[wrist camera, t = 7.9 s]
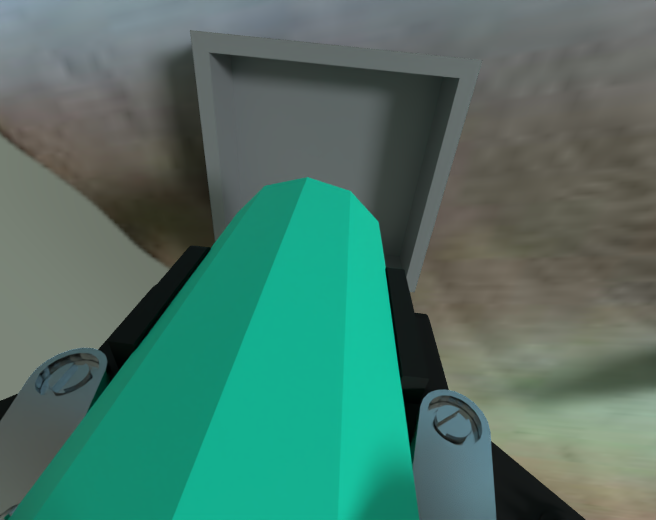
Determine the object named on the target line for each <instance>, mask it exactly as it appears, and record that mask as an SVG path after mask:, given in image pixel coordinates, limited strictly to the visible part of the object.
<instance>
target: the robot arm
mask: <svg viewBox="0 0 656 520" xmlns="http://www.w3.org/2000/svg"><path fill="white" fill-rule="evenodd" d="M210 249H211V248H210V247H201V246H190V247H189V248H188V249H187V250H186V251H185V252H184V254H183V255H182V256H181V257H180V258H179V259H178V261H177V262H176V263H175V264H174V265H173V266H172V267H171V269H170V270H169V271H168V272H167V273H166V275H165V276H164V277H163V278H162V279H161V280H160V281H159V283H158V284H157V285H155V286H154V287H153V288H152V289H151V290H150V291H149V292H148V293H147V294H146V296H145V297H144V298H143V299H142V300H141V301H140V302H139V303H138V305H137V306H136V307H135V308H134V309H133V310H132V312H131V313H130V314H129V315H128V316H127V317H126V318H125V320H124V321H123V322H122V323H121V324H120V325H119V327H118V328H117V329H116V330H115V331H114V332H113V333H112V334H111V336H110V337H109V338H108V339H107V340H106V341H105V343H104V344H103V345H102V346H101V347H100V348H99V349H98V350H97V349H94V348H79V349H73V350H69V351H67V352H64V353H61V354H58V355H56V356H54V357H53V358H51V359H49V360H47V361H46V362H44V363H43V364H42V365H40V366H39V367H38V368H37V369H36V370H35V371H34V372H33V373H32V375H31V376H30V377H29V378H28V380H27V381H26V383H25V384H24V386H23V387H22V389H21V390H20V392H19V393H18V394H16V395H13V396H11V397H9V398H6V399H4V400H1V401H0V520H8V518H9V517H10V516H12V514H13V513H14V511H15V510H16V508H17V507H18V505H19V504H20V502H21V501H22V500H23V498H24V497H25V496H26V494H27V493H28V492H29V490H30V489H31V488H32V486H33V485H34V484H35V482H36V481H37V480H38V478H39V477H40V476H41V474H42V473H43V472H44V470H45V469H46V468H47V466H48V465H49V464H50V462H51V461H52V460H53V458H54V457H55V456H56V454H57V453H58V452H59V450H60V449H61V448H62V446H63V445H64V444H65V442H66V441H67V440H68V438H69V437H70V436H71V434H72V433H73V432H74V430H75V429H76V428H77V426H78V425H79V424H80V422H81V421H82V420H83V418H84V417H85V416H86V414H87V413H88V412H89V410H90V409H91V407H92V406H93V405H94V403H95V402H96V401H97V399H98V398H99V397H100V395H101V394H102V393H103V391H104V390H105V389H106V387H107V386H108V385H109V383H110V382H111V381H112V379H113V378H114V377H115V375H116V374H117V373H118V371H119V370H120V369H121V367H122V366H123V365H124V363H125V362H126V361H127V359H128V358H129V357H130V355H131V354H132V353H133V352H134V351H135V350H136V349H137V347H138V346H139V345H140V343H141V342H142V340H143V339H144V338H145V337H146V336H147V334H148V333H149V332H150V330H151V329H152V328H153V326H154V325H155V324H156V322H157V321H158V320H159V318H160V317H161V316H162V314H163V313H164V312H165V310H166V309H167V308H168V306H169V305H170V304H171V302H172V301H173V300H174V298H175V297H176V296H177V294H178V293H179V291H180V290H181V289H182V287H183V286H184V285H185V283H186V282H187V281H188V279H189V278H190V277H191V275H192V274H193V273H194V271H195V270H196V269H197V267H198V266H199V265H200V263H201V262H202V261H203V259H204V258H205V257H206V255H207V254H208V252H209V251H210ZM385 272H386V279H387V287H388V294H389V301H390V309H391V316H392V323H393V331H394V338H395V345H396V353H397V360H398V367H399V374H400V381H401V387H402V393H403V399H404V406H405V413H406V420H407V427H408V434H409V441H410V447H411V448H410V449H411V459H412V468H413V476H414V483H415V490H416V498H417V505H418V512H419V519H420V520H585V519H584V518H583V517H582V516H581V515H579V514H578V513H577V512H576V511H575V510H573V509H572V508H571V507H570V506H569V505H567V504H566V503H565V502H564V501H563V500H561V499H560V498H559V497H558V496H557V495H555V494H554V493H553V492H552V491H551V490H549V489H548V488H547V487H546V486H545V485H543V484H542V483H541V482H540V481H539V480H537V479H536V478H535V477H534V476H533V475H531V474H530V473H529V472H528V471H527V470H525V469H524V468H523V467H522V466H520V465H519V464H518V463H517V462H516V461H514V460H513V459H512V458H511V457H510V456H508V455H507V454H506V453H505V452H504V451H502V450H501V449H500V448H499V447H498V446H496V445H495V444H494V443H493V442H492V441H491V436H490V429H489V425H488V421H487V419H486V418H485V416H484V414H483V412H482V411H481V410H480V409H479V408H478V406H477V405H476V404H475V403H474V402H472V401H471V400H470V399H468V398H467V397H466V396H464V395H461V394H459V393H457V392H455V391H450V390H449V389H448V385H447V382H446V378H445V375H444V371H443V367H442V364H441V360H440V356H439V353H438V349H437V346H436V342H435V338H434V335H433V331H432V328H431V324H430V320H429V318H428V316H427V315H426V314H421V313H414V309H413V305H412V300H411V296H410V291H409V287H408V282H407V278H406V274H405V270H404V269H397V268H388V267H386V268H385Z"/></svg>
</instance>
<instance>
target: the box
mask: <svg viewBox="0 0 656 520" xmlns="http://www.w3.org/2000/svg"><path fill="white" fill-rule="evenodd" d="M190 34H191V42H192V51H193V59H194V68H195V76H196V85H197V93H198V102H199V110H200V118H201V127H202V135H203V144H204V152H205V161H206V169H207V178H208V186H209V195H210V203H211V211H212V220H213V228H214V237H215V242H216V241H217V239H218V238H219V237H220V235H221V234H222V233H223V231H224V230H225V229H226V227H227V226H228V225H229V223H230V222H231V221H232V219H233V218H234V217H235V215H236V214H237V213H238V212H239V211H240V210H241V209H242V208H243V207H244V206H245V205H246V204H247V203H248V202H249V201H250V200H251V199H252V198H253V197H254V196H255V195H256V194H257V193H258V192H259V191H260V190H261V189H262V188H263V187H264V186H266V185H271V184H276V183H281V182H286V181H290V180H295V179H300V178H305V177H309V178H312V179H315V180H318V181H321V182H324V183H327V184H331V185H334V186H337V187H340V188H343V189H346V190H349V191H351V192H352V193H353V194H354V195H355V196H356V198H357V199H358V200H359V201H360V202H361V203H362V204H363V205H364V206H365V207H366V209H367V210H368V211H369V212H370V213H371V214H372V215H373V216H374V217H375V218H376V220H377V221H378V222H379V228H380V234H381V240H382V246H383V253H384V259H385V266H386V267H388V268H397V269H404V270H405V274H406V278H407V282H408V287H409V291H410V292H415V289H416V285H417V282H418V278H419V275H420V272H421V268H422V265H423V261H424V258H425V255H426V251H427V248H428V244H429V241H430V237H431V234H432V231H433V227H434V224H435V220H436V217H437V214H438V210H439V207H440V203H441V200H442V197H443V193H444V190H445V186H446V183H447V180H448V176H449V173H450V169H451V166H452V162H453V159H454V156H455V152H456V149H457V145H458V142H459V139H460V135H461V132H462V128H463V125H464V122H465V118H466V115H467V111H468V108H469V105H470V101H471V98H472V94H473V91H474V88H475V84H476V81H477V77H478V74H479V70H480V67H481V64H482V60H476V59H466V58H456V57H447V56H437V55H427V54H417V53H407V52H398V51H388V50H378V49H368V48H359V47H349V46H339V45H329V44H319V43H310V42H300V41H290V40H280V39H270V38H261V37H251V36H241V35H231V34H221V33H212V32H202V31H192V30H190Z"/></svg>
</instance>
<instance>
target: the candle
mask: <svg viewBox="0 0 656 520" xmlns="http://www.w3.org/2000/svg"><path fill="white" fill-rule="evenodd" d="M385 268H386V266H385V259H384V253H383V246H382V240H381V234H380V228H379V222H378V221H377V220H376V218H375V217H374V216H373V215H372V214H371V213H370V212H369V211H368V210H367V209H366V207H365V206H364V205H363V204H362V203H361V202H360V201H359V200H358V199H357V198H356V196H355V195H354V194H353V193H352V192H351V191H349V190H346V189H343V188H340V187H337V186H334V185H331V184H327V183H324V182H321V181H318V180H315V179H312V178H309V177H305V178H300V179H295V180H290V181H286V182H281V183H276V184H271V185H266V186H264V187H263V188H262V189H261V190H260V191H259V192H258V193H257V194H256V195H255V196H254V197H253V198H252V199H251V200H250V201H249V202H248V203H247V204H246V205H245V206H244V207H243V208H242V209H241V210H240V211H239V212H238V213H237V214H236V215H235V217H234V218H233V219H232V221H231V222H230V223H229V225H228V226H227V227H226V229H225V230H224V231H223V233H222V234H221V235H220V237H219V238H218V239H217V241H216V242H215V243H214V245H213V246H212V247H211V249H210V251H209V252H208V254H207V255H206V257H205V258H204V259H203V261H202V262H201V263H200V265H199V266H198V267H197V269H196V270H195V271H194V273H193V274H192V275H191V277H190V278H189V279H188V281H187V282H186V283H185V285H184V286H183V287H182V289H181V290H180V291H179V293H178V294H177V296H176V297H175V298H174V300H173V301H172V302H171V304H170V305H169V306H168V308H167V309H166V310H165V312H164V313H163V314H162V316H161V317H160V318H159V320H158V321H157V322H156V324H155V325H154V326H153V328H152V329H151V330H150V332H149V333H148V334H147V336H146V337H145V338H144V339H143V340H142V342H141V343H140V345H139V346H138V347H137V349H136V350H135V351H134V352H133V353H132V354H131V355H130V357H129V358H128V359H127V361H126V362H125V363H124V365H123V366H122V367H121V369H120V370H119V371H118V373H117V374H116V375H115V377H114V378H113V379H112V381H111V382H110V383H109V385H108V386H107V387H106V389H105V390H104V391H103V393H102V394H101V395H100V397H99V398H98V399H97V401H96V402H95V403H94V405H93V406H92V407H91V409H90V410H89V412H88V413H87V414H86V416H85V417H84V418H83V420H82V421H81V422H80V424H79V425H78V426H77V428H76V429H75V430H74V432H73V433H72V434H71V436H70V437H69V438H68V440H67V441H66V442H65V444H64V445H63V446H62V448H61V449H60V450H59V452H58V453H57V454H56V456H55V457H54V458H53V460H52V461H51V462H50V464H49V465H48V466H47V468H46V469H45V470H44V472H43V473H42V474H41V476H40V477H39V478H38V480H37V481H36V482H35V484H34V485H33V486H32V488H31V489H30V490H29V492H28V493H27V494H26V496H25V497H24V498H23V500H22V501H21V502H20V504H19V505H18V507H17V508H16V510H15V511H14V513H13V514H12V516H10V517H9V518H8V520H420V519H419V512H418V505H417V498H416V490H415V483H414V476H413V468H412V459H411V449H410V448H411V447H410V441H409V434H408V427H407V420H406V413H405V406H404V399H403V393H402V387H401V381H400V374H399V367H398V360H397V353H396V345H395V338H394V331H393V323H392V316H391V309H390V301H389V294H388V287H387V279H386V272H385Z"/></svg>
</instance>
